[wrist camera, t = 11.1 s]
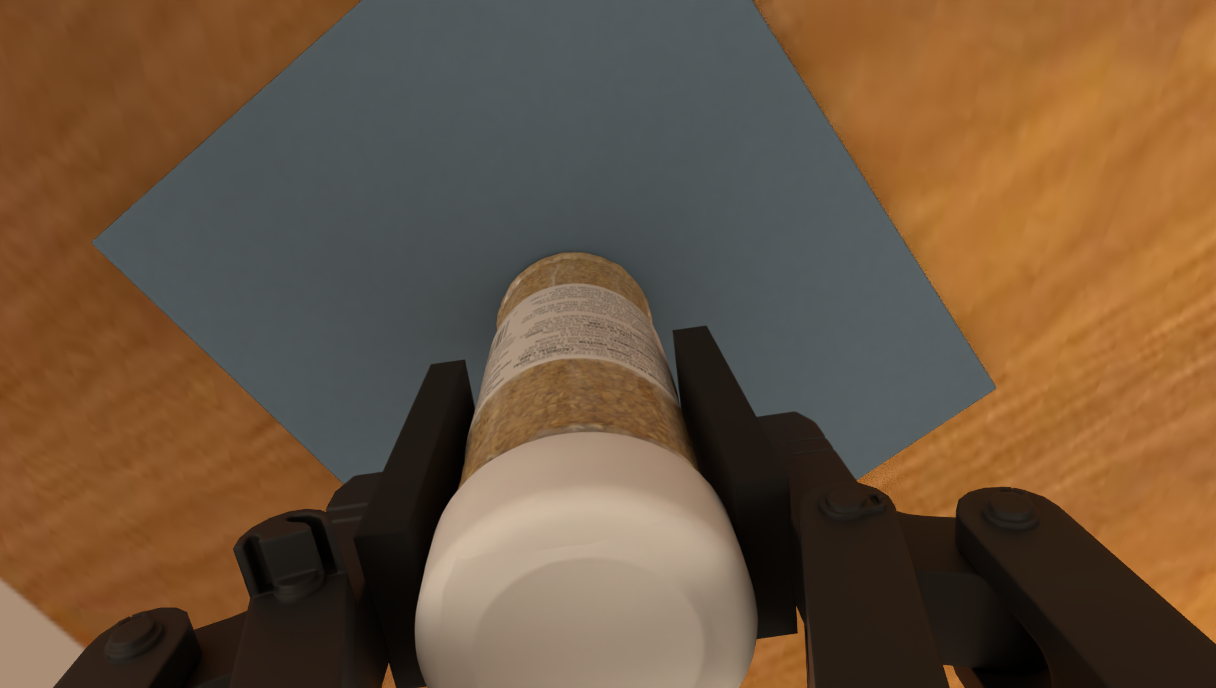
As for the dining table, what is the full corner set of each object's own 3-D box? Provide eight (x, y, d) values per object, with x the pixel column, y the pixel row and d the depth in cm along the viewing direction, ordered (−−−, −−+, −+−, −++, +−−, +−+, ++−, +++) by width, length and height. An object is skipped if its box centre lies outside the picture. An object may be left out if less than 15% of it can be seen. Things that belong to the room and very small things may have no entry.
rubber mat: (100, 238, 21) (89, 242, 21) (610, -217, 18) (611, -225, 18) (550, 671, 27) (549, 681, 27) (989, 382, 24) (997, 388, 24)
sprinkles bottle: (605, 417, 23) (654, 828, 11) (469, 353, 22) (349, 723, 10) (680, 290, 22) (835, 588, 10) (540, 216, 21) (505, 439, 9)
